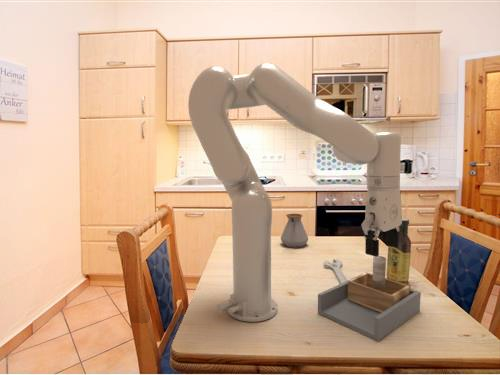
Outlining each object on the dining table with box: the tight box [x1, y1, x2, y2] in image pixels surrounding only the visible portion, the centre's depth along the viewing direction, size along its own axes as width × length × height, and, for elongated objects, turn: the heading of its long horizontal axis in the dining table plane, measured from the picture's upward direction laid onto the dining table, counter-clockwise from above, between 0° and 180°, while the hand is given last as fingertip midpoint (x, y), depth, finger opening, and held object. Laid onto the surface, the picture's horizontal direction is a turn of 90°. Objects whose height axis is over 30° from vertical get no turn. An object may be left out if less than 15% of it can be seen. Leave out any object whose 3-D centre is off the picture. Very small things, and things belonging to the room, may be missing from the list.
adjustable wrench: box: [323, 258, 349, 284], centre depth 107 cm, size 25×6×2 cm, turn 174°
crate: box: [347, 255, 411, 313], centre depth 85 cm, size 9×12×12 cm
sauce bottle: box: [385, 217, 412, 285], centre depth 100 cm, size 7×6×20 cm
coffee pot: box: [280, 213, 309, 249], centre depth 135 cm, size 21×12×15 cm, turn 168°
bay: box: [317, 273, 422, 342], centre depth 83 cm, size 20×16×5 cm
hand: (382, 250), depth 84 cm, fingers open, 9 cm apart
